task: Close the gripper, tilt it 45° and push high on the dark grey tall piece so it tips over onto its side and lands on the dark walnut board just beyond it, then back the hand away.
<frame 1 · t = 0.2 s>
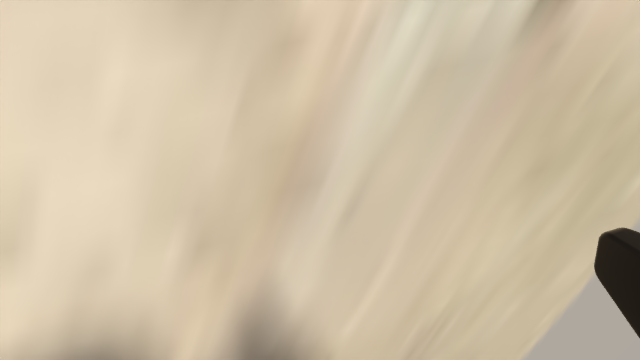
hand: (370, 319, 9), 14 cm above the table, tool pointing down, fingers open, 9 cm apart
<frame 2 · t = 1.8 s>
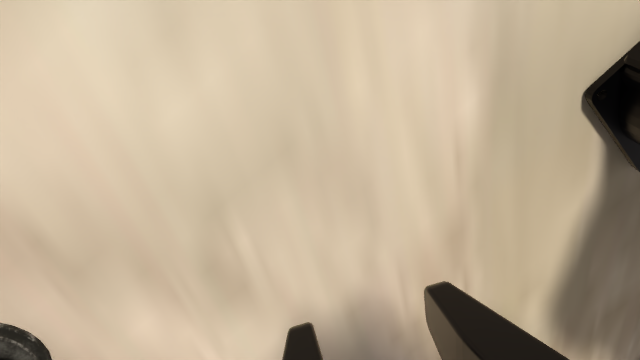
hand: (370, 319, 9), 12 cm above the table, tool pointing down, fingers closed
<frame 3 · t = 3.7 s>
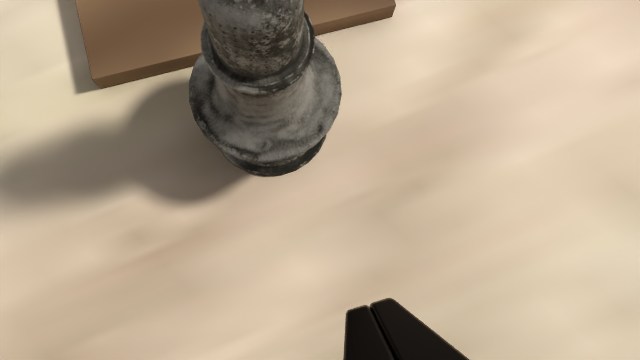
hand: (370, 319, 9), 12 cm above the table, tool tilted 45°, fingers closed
dark grey tall piece: (270, 121, 23), on the table
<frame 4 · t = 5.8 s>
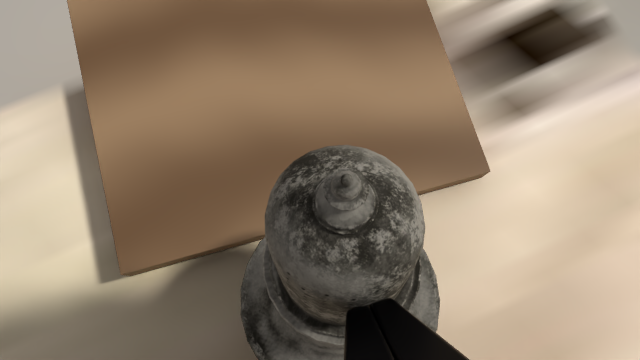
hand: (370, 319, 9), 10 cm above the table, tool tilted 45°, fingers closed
dark grey tall piece: (338, 315, 18), on the table
walnut board: (259, 42, 21), on the table
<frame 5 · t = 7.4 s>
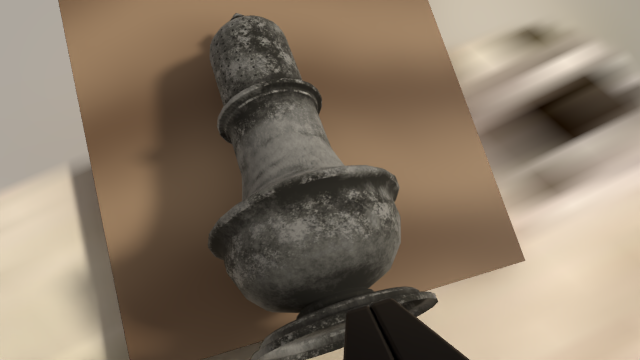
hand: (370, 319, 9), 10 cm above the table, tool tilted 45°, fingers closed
dark grey tall piece: (348, 342, 13), point 5 cm above the table, touching walnut board
walnut board: (277, 115, 20), on the table
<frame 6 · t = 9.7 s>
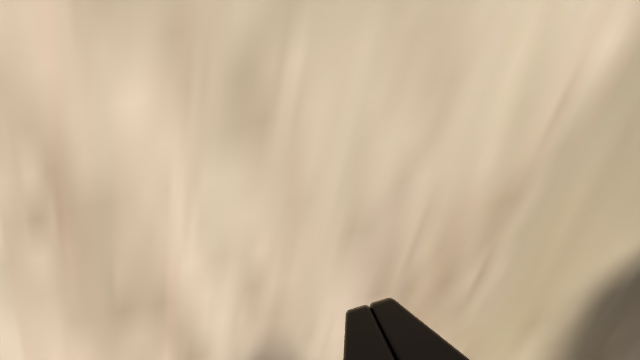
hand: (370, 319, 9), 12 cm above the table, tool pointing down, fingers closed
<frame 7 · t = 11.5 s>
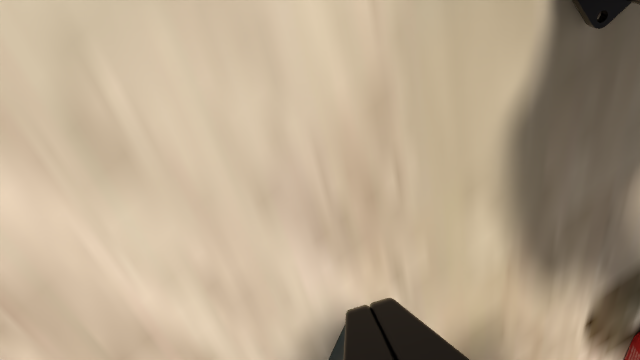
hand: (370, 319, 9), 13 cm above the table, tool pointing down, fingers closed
watch: (364, 353, 30), on the table
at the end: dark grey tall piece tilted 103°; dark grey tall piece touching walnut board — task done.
